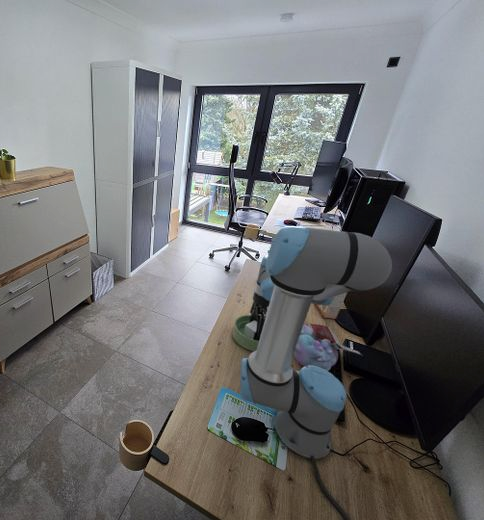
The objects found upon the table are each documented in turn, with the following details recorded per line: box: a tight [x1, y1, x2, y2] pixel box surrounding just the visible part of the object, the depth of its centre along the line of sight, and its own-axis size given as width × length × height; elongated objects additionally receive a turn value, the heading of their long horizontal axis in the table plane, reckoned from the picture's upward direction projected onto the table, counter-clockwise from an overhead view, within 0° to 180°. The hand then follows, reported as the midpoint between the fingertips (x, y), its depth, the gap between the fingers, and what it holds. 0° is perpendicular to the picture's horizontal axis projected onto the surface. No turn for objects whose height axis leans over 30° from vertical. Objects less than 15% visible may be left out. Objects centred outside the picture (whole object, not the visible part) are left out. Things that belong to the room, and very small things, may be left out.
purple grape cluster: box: [293, 322, 362, 372], centre depth 112 cm, size 20×22×18 cm
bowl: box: [231, 314, 259, 352], centre depth 123 cm, size 17×17×6 cm
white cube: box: [243, 320, 257, 339], centre depth 123 cm, size 6×6×6 cm
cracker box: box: [316, 292, 348, 320], centre depth 139 cm, size 14×6×21 cm, turn 168°
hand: (253, 336), depth 124 cm, fingers closed on white cube, 8 cm apart
